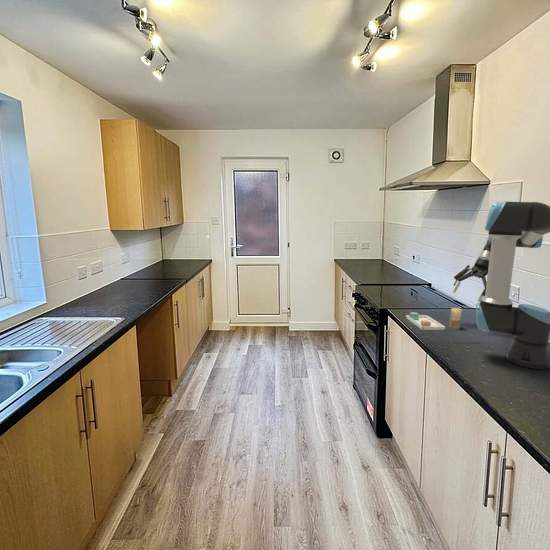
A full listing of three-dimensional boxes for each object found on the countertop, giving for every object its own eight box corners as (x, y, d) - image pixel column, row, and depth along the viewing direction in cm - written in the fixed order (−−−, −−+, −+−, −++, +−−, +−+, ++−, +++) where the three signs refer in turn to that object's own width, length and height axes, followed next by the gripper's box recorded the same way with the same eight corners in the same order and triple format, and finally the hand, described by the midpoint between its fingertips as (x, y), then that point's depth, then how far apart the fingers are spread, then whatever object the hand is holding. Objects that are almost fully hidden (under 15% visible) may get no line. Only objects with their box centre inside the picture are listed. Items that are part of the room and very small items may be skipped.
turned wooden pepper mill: (461, 330, 189) (463, 310, 187) (452, 330, 189) (454, 310, 187) (456, 327, 194) (458, 307, 192) (447, 327, 194) (449, 307, 192)
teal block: (418, 320, 203) (418, 314, 202) (412, 320, 202) (412, 314, 202) (415, 318, 206) (416, 312, 205) (409, 318, 206) (410, 312, 205)
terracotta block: (430, 328, 188) (430, 322, 187) (423, 328, 188) (424, 322, 187) (427, 326, 191) (427, 320, 191) (420, 326, 191) (421, 320, 191)
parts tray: (445, 331, 187) (445, 326, 187) (421, 331, 187) (422, 326, 186) (426, 319, 208) (426, 315, 207) (405, 319, 207) (405, 315, 207)
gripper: (512, 270, 184) (491, 307, 183) (465, 258, 204) (446, 291, 203) (508, 264, 179) (486, 301, 178) (460, 252, 199) (440, 286, 198)
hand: (465, 296), depth 191 cm, fingers open, 13 cm apart
